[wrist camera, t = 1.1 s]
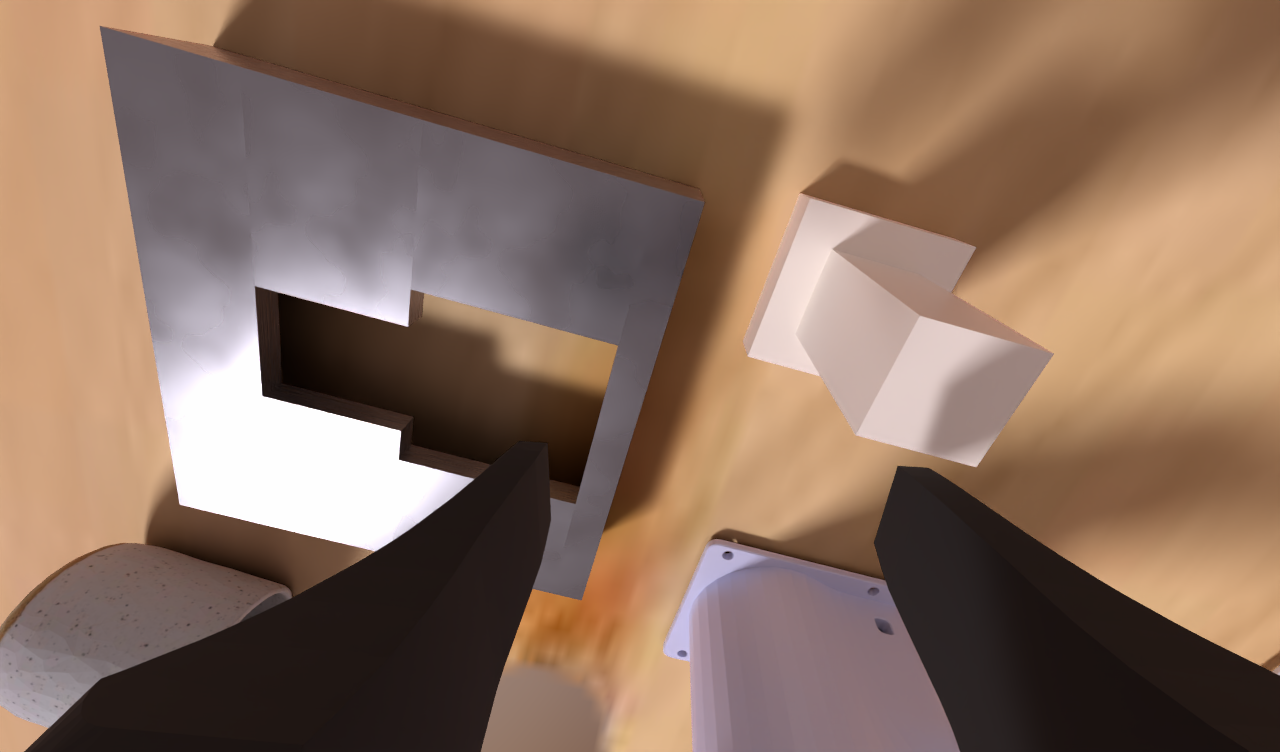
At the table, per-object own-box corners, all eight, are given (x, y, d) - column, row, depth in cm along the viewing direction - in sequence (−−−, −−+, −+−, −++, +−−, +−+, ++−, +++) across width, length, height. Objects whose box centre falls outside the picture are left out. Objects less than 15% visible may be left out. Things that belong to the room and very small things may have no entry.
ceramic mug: (129, 502, 25) (-81, 649, 18) (299, 553, 26) (161, 712, 19) (146, 636, 30) (-15, 792, 23) (290, 675, 30) (176, 838, 24)
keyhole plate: (699, 188, 17) (705, 201, 14) (593, 538, 24) (581, 600, 21) (211, 45, 16) (99, 25, 13) (246, 453, 23) (179, 504, 20)
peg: (952, 237, 17) (1149, 314, 10) (878, 378, 20) (995, 519, 13) (799, 192, 17) (891, 238, 10) (742, 340, 20) (783, 464, 12)
